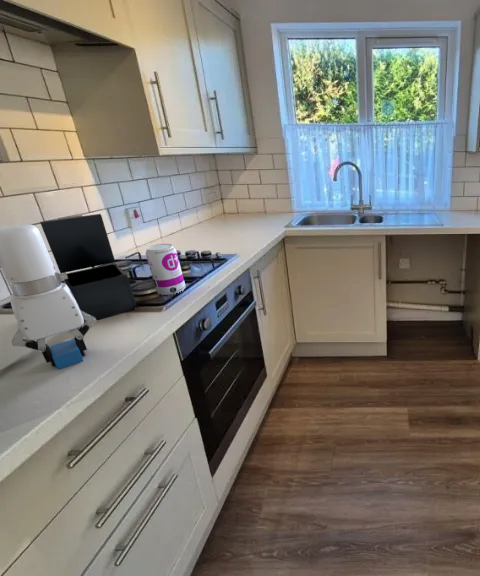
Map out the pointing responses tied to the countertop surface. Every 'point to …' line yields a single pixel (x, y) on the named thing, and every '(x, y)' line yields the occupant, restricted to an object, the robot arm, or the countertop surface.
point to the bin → (102, 291)
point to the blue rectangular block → (66, 354)
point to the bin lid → (78, 242)
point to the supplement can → (165, 269)
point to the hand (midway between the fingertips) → (68, 357)
